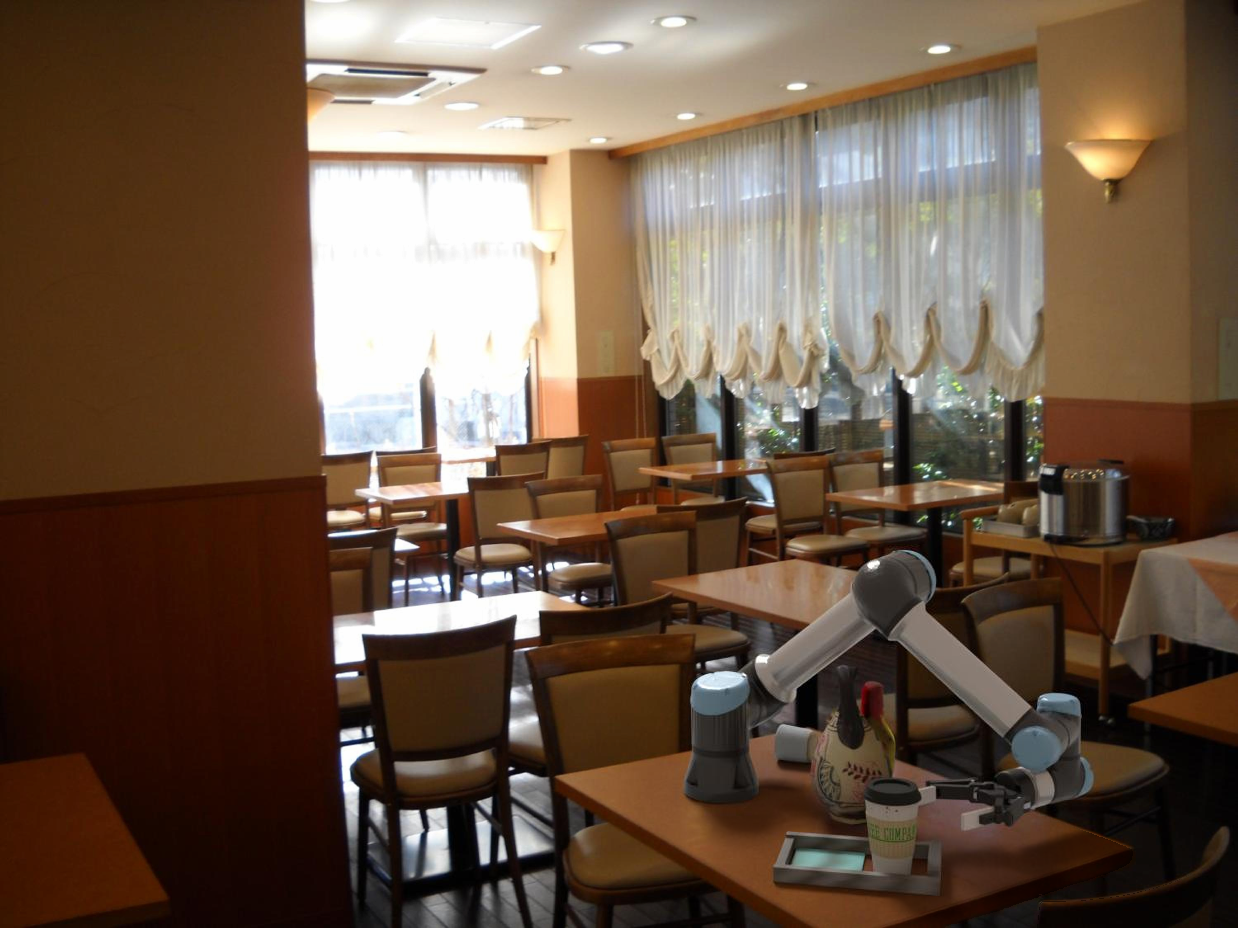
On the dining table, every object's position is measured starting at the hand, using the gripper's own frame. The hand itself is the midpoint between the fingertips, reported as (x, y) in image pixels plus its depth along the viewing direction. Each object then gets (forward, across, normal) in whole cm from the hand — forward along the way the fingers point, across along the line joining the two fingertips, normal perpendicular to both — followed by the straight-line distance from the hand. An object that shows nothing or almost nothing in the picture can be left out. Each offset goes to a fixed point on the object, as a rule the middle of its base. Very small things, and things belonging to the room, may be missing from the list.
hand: (933, 810), depth 223 cm
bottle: (-22, +42, -9) cm, 48 cm away
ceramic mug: (-16, +59, -9) cm, 62 cm away
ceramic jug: (-2, +24, -9) cm, 26 cm away
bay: (+13, +4, -9) cm, 16 cm away
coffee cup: (+10, 0, -9) cm, 13 cm away
